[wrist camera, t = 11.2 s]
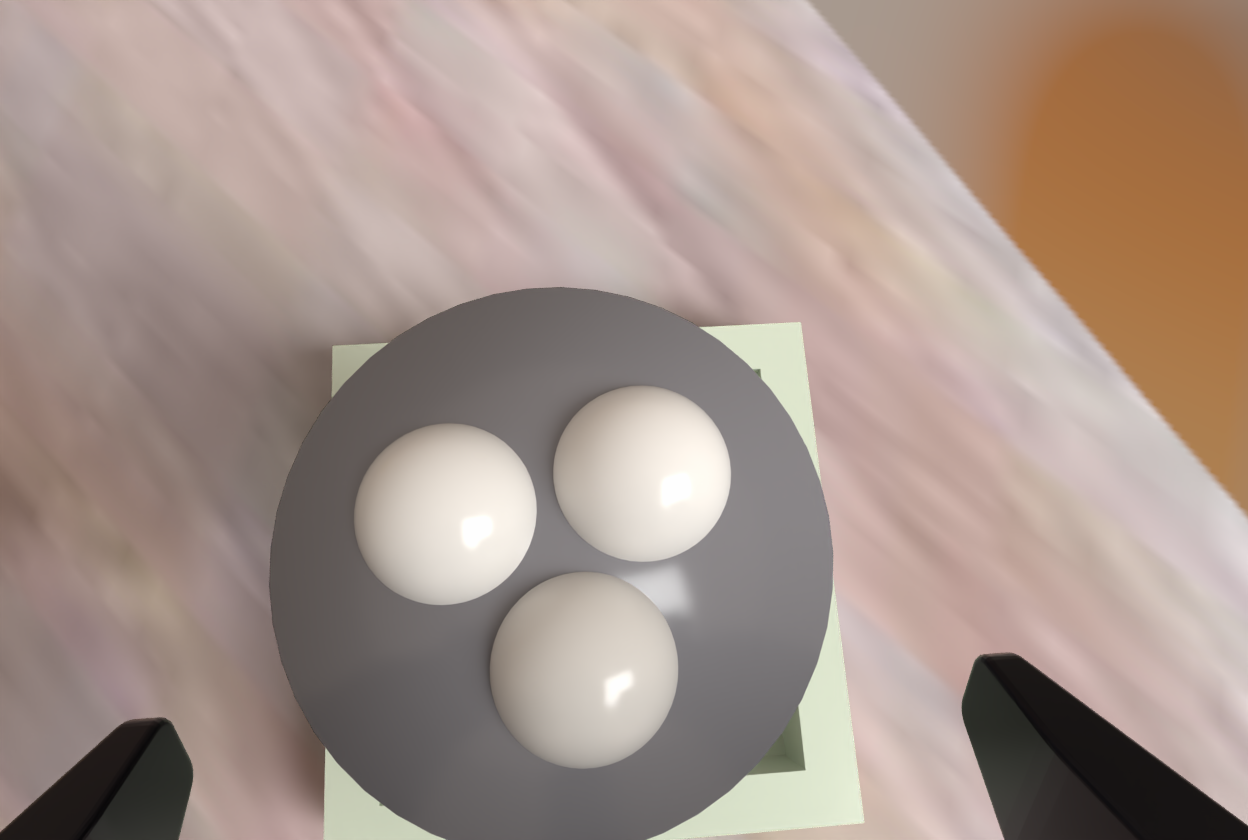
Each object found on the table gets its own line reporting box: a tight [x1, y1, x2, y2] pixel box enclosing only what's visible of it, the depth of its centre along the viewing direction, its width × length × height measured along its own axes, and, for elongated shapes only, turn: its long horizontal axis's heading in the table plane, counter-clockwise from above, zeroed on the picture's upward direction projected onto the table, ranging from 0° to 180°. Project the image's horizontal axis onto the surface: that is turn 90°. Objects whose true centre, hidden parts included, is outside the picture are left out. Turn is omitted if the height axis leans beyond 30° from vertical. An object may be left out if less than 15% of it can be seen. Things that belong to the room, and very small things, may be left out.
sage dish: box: [324, 322, 864, 840], centre depth 20 cm, size 12×12×2 cm
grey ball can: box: [269, 287, 833, 840], centre depth 14 cm, size 5×5×14 cm
